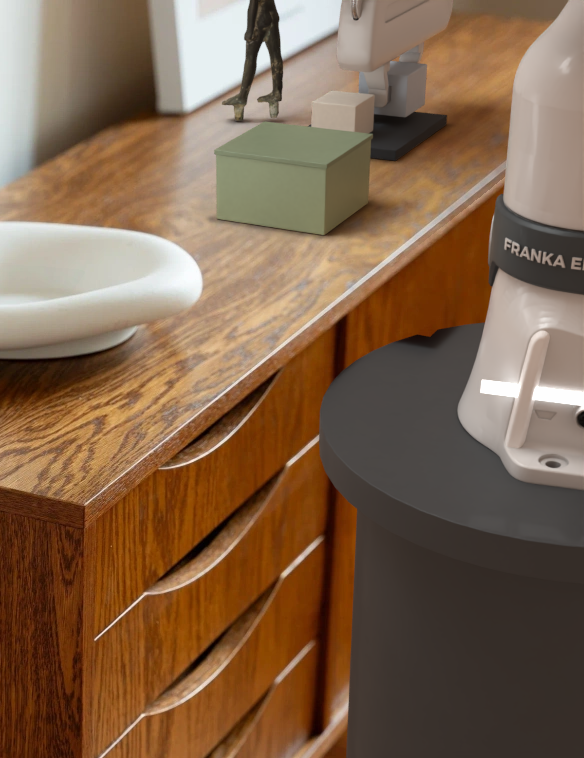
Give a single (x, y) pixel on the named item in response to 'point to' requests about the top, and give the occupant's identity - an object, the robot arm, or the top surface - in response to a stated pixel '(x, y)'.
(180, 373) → the top surface
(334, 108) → the beige cube
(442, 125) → the mat
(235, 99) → the statue
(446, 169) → the top surface
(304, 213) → the storage box
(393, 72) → the gray box
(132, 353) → the top surface
